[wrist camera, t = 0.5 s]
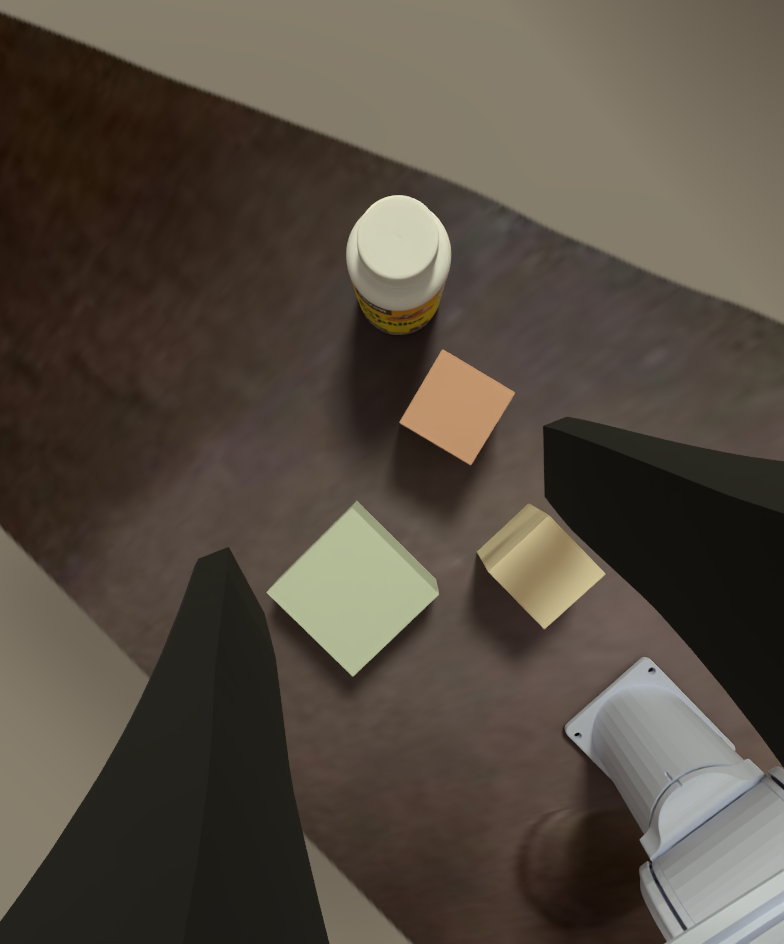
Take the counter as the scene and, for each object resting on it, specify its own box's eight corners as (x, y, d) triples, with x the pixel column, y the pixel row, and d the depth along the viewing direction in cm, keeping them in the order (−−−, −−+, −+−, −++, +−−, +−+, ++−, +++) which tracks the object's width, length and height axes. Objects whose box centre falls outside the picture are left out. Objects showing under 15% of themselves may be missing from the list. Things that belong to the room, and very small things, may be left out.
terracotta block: (499, 398, 34) (515, 392, 29) (461, 460, 34) (470, 465, 29) (437, 361, 34) (442, 349, 29) (400, 423, 34) (399, 422, 29)
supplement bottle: (350, 326, 34) (327, 281, 24) (369, 245, 33) (353, 163, 23) (430, 345, 34) (439, 309, 24) (449, 264, 33) (469, 191, 23)
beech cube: (577, 553, 35) (605, 574, 30) (525, 601, 35) (544, 629, 30) (528, 503, 35) (548, 515, 30) (476, 551, 35) (488, 571, 30)
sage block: (435, 578, 35) (439, 594, 32) (358, 653, 36) (352, 676, 33) (357, 500, 35) (351, 507, 32) (280, 576, 36) (266, 592, 32)
